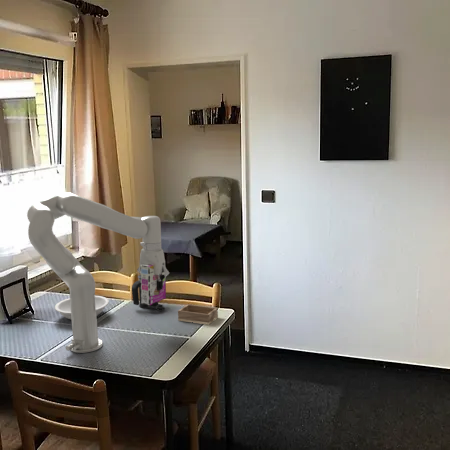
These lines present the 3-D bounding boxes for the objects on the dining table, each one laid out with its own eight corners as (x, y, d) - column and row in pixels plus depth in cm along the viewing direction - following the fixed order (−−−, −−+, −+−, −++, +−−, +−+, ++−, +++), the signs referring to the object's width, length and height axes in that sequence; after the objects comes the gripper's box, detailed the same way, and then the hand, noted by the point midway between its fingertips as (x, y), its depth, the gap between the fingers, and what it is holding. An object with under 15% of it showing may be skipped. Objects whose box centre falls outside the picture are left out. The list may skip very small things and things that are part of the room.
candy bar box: (150, 306, 216) (148, 266, 213) (140, 304, 219) (139, 265, 216) (167, 298, 226) (165, 260, 223) (157, 296, 228) (156, 259, 225)
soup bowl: (102, 326, 232) (101, 312, 230) (48, 327, 232) (46, 313, 231) (115, 307, 255) (114, 294, 254) (65, 308, 256) (64, 295, 255)
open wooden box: (208, 324, 230) (208, 314, 229) (178, 320, 236) (177, 310, 235) (217, 317, 238) (217, 308, 237) (188, 313, 244) (187, 304, 243)
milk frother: (145, 301, 263) (143, 272, 260) (174, 304, 257) (172, 274, 254) (130, 311, 250) (128, 280, 247) (160, 314, 244) (158, 283, 241)
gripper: (129, 246, 218) (131, 289, 221) (165, 249, 211) (166, 293, 214) (139, 242, 225) (141, 284, 228) (174, 246, 218) (176, 288, 221)
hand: (153, 288), depth 221 cm, fingers closed on candy bar box, 5 cm apart
